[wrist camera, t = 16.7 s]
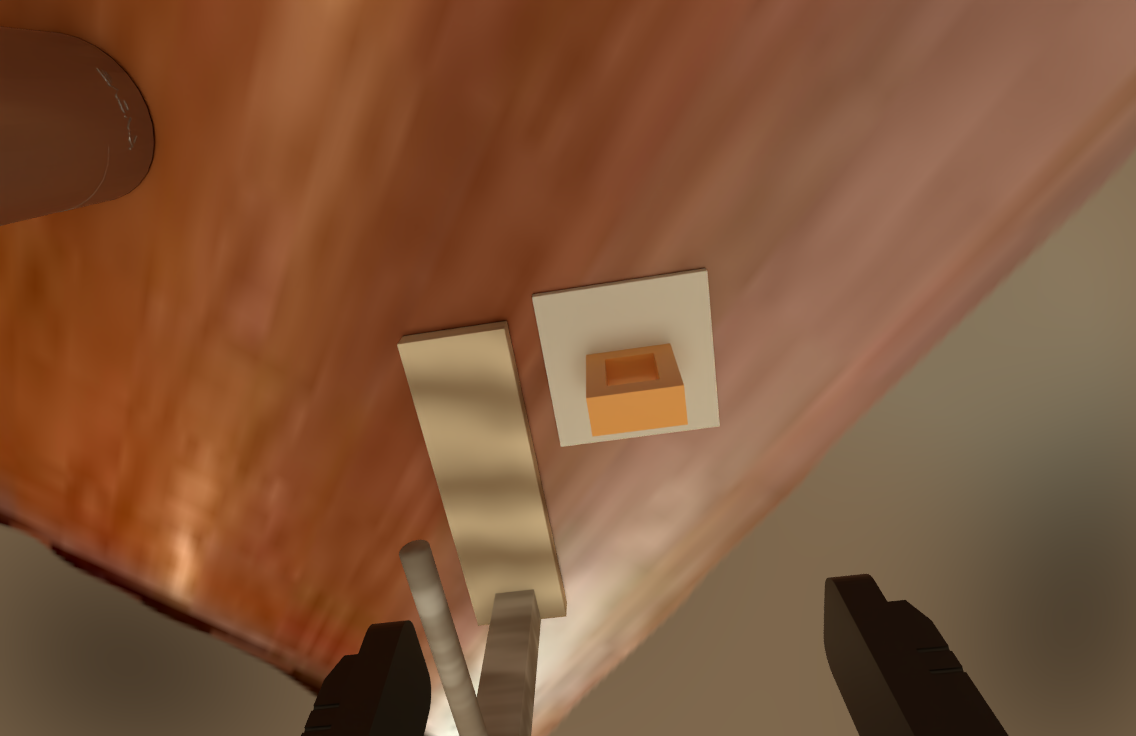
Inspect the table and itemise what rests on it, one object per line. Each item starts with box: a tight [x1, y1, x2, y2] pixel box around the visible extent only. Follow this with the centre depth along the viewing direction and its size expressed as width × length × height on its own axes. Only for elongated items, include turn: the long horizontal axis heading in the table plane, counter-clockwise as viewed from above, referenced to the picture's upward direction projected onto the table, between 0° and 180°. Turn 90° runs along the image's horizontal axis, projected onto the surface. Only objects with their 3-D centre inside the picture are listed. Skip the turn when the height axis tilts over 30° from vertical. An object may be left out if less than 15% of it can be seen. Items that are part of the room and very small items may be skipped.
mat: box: [532, 268, 720, 447], centre depth 42 cm, size 11×11×1 cm
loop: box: [586, 343, 688, 437], centre depth 39 cm, size 6×2×6 cm, turn 99°
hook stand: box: [397, 321, 567, 736], centre depth 39 cm, size 24×7×18 cm, turn 9°
